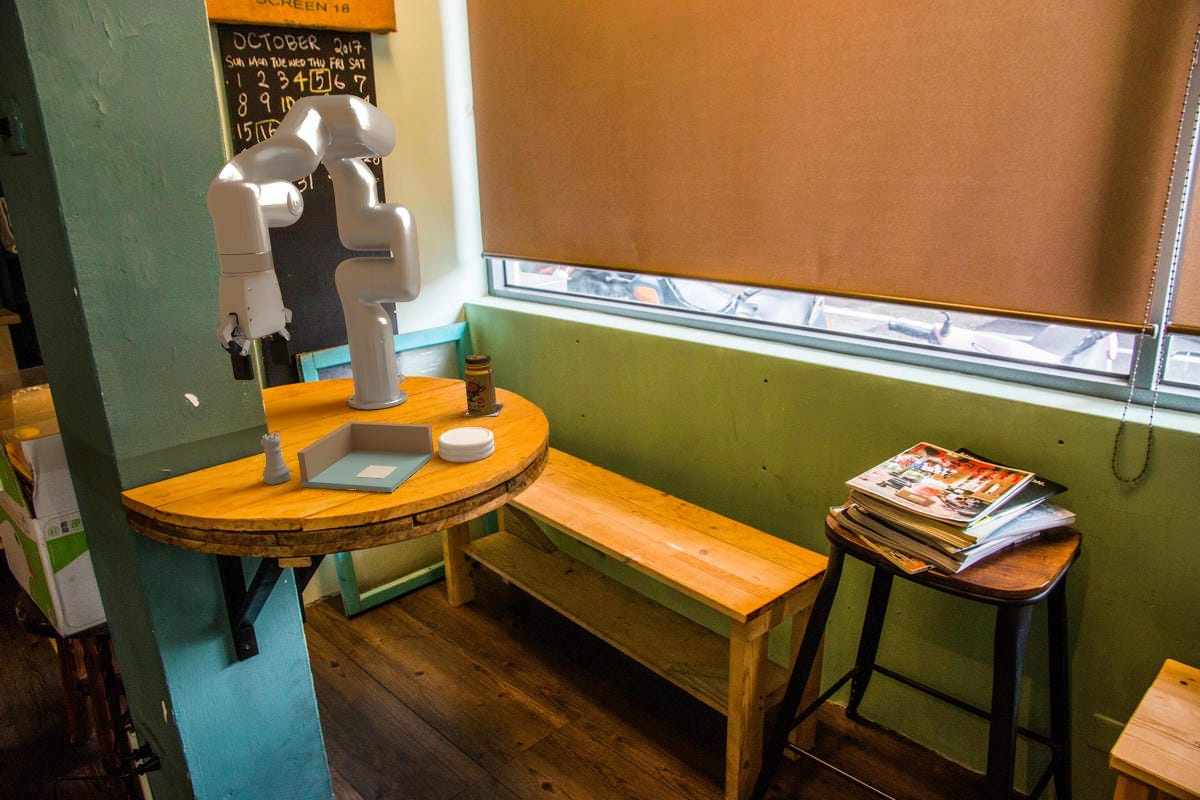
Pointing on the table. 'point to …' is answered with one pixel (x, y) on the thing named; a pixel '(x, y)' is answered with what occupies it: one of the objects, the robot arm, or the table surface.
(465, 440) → the white round container
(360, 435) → the corner arena
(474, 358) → the condiment
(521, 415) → the table surface
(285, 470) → the rook chess piece
